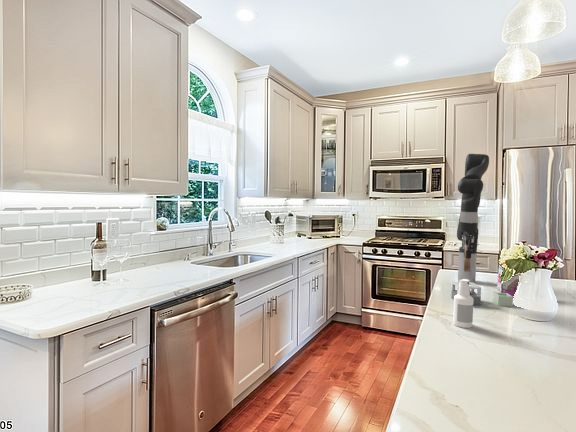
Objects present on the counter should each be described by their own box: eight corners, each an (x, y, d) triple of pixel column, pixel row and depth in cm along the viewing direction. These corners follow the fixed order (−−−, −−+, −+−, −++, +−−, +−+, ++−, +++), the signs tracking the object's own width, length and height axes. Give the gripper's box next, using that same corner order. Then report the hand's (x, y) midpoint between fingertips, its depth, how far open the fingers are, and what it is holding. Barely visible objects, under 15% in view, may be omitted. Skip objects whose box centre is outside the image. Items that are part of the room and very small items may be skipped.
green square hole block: (493, 301, 170) (493, 292, 170) (506, 302, 169) (507, 293, 169) (498, 305, 164) (498, 295, 164) (512, 306, 163) (512, 296, 163)
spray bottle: (464, 329, 135) (466, 282, 134) (449, 323, 141) (451, 278, 140) (476, 326, 138) (478, 280, 137) (460, 320, 144) (462, 277, 143)
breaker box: (451, 297, 176) (451, 281, 175) (472, 298, 174) (473, 282, 174) (457, 303, 166) (458, 286, 166) (480, 305, 165) (481, 287, 164)
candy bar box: (501, 296, 179) (502, 264, 178) (496, 293, 184) (498, 262, 183) (524, 297, 178) (526, 265, 177) (519, 294, 183) (521, 263, 181)
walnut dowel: (463, 270, 171) (464, 243, 170) (468, 270, 170) (469, 243, 170) (464, 271, 168) (465, 244, 167) (470, 271, 168) (471, 244, 167)
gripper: (456, 220, 175) (454, 254, 176) (465, 222, 161) (463, 260, 163) (472, 220, 174) (470, 255, 175) (482, 222, 160) (481, 260, 161)
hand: (467, 257), depth 169 cm, fingers closed on walnut dowel, 2 cm apart
